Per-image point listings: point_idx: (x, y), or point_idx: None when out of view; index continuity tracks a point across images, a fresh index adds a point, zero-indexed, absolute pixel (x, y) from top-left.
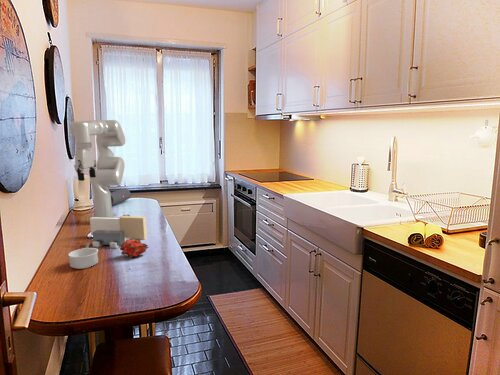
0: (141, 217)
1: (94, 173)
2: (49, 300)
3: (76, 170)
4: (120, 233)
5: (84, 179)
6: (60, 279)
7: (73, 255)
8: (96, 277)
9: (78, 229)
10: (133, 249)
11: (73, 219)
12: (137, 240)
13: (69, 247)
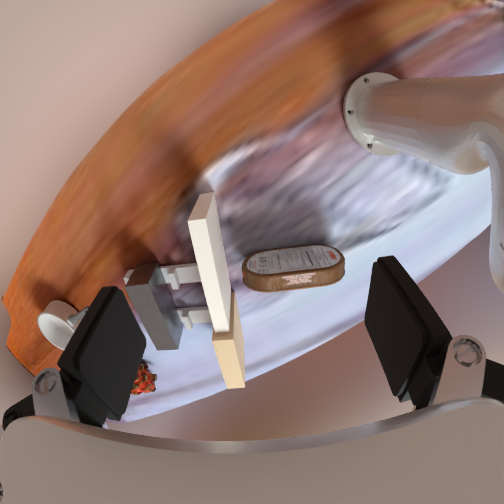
0: (234, 383)
1: (383, 359)
2: (15, 336)
3: (20, 412)
4: (160, 348)
5: (141, 351)
6: (30, 316)
7: (51, 308)
8: (62, 352)
9: (273, 69)
10: None
11: None
12: (141, 390)
13: (99, 210)
